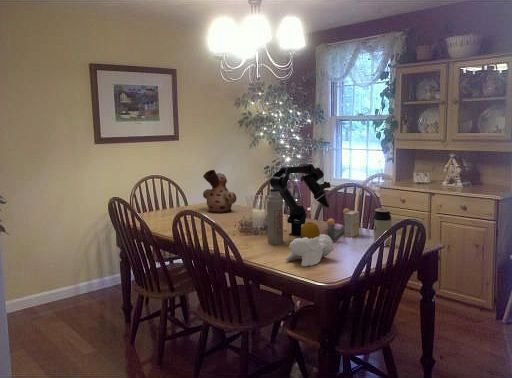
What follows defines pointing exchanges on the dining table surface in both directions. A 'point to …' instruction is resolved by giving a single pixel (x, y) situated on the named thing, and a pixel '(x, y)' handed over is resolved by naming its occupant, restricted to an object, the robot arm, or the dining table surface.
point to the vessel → (218, 193)
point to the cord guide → (332, 227)
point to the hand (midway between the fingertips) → (328, 207)
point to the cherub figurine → (310, 249)
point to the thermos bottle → (275, 217)
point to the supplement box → (352, 224)
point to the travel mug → (382, 223)
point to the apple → (310, 230)
